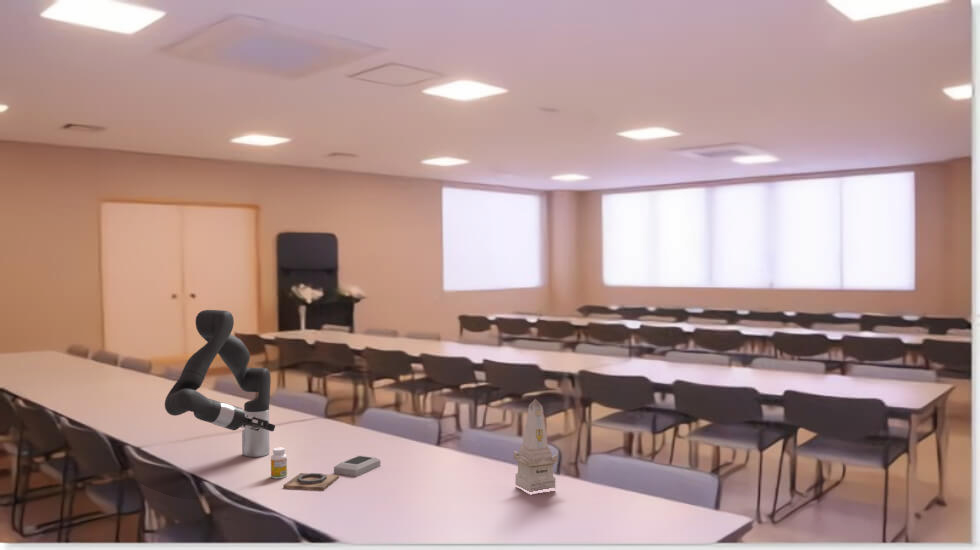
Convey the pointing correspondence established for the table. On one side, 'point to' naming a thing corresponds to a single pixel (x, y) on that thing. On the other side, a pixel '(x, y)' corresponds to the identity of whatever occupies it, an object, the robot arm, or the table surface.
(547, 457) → the miniature monument
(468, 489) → the table surface
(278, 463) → the supplement bottle
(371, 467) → the grey flat boxy piece
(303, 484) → the carrier plate
